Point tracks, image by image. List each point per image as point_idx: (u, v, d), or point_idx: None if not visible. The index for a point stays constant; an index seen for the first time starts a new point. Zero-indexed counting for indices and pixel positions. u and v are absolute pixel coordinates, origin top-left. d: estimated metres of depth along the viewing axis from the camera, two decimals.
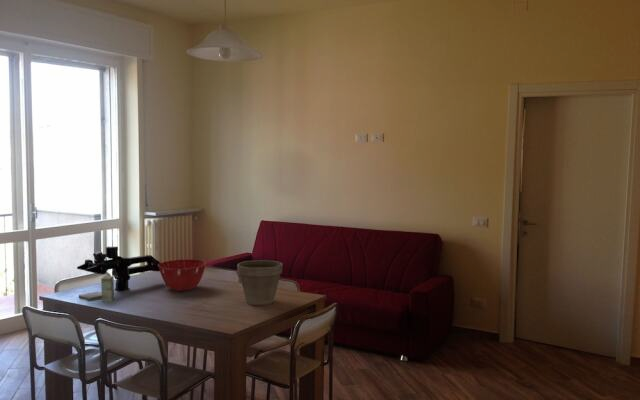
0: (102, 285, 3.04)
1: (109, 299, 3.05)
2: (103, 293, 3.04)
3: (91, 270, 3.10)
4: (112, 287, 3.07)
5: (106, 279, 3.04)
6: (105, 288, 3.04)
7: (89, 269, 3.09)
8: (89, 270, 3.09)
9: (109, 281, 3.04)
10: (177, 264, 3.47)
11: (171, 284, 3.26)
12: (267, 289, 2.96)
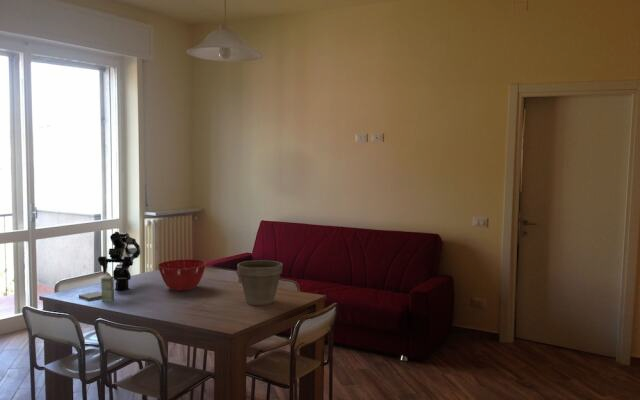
0: (102, 285, 3.04)
1: (109, 299, 3.05)
2: (103, 293, 3.04)
3: (123, 269, 3.16)
4: (112, 287, 3.07)
5: (106, 279, 3.04)
6: (105, 288, 3.04)
7: (122, 270, 3.15)
8: (122, 270, 3.16)
9: (109, 281, 3.04)
10: (177, 264, 3.47)
11: (171, 284, 3.26)
12: (267, 289, 2.96)
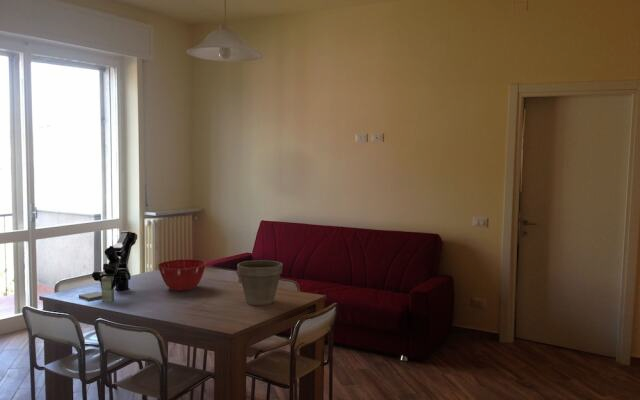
0: (102, 285, 3.04)
1: (109, 299, 3.05)
2: (103, 293, 3.04)
3: (115, 285, 3.08)
4: None
5: (106, 279, 3.04)
6: (105, 288, 3.04)
7: (113, 286, 3.06)
8: (114, 286, 3.07)
9: (109, 281, 3.04)
10: (177, 264, 3.47)
11: (171, 284, 3.26)
12: (267, 289, 2.96)
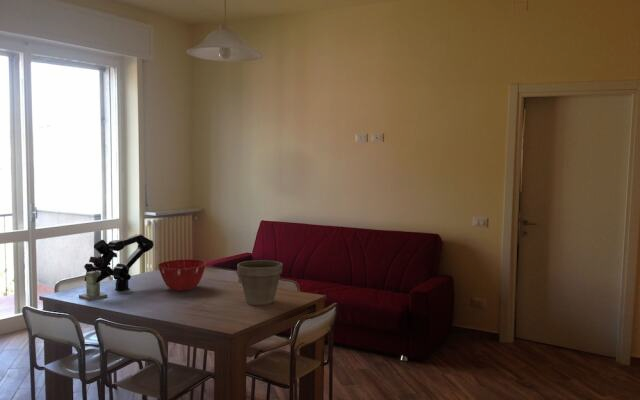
0: (86, 279, 3.11)
1: (91, 294, 3.10)
2: (87, 287, 3.11)
3: (101, 279, 3.10)
4: None
5: (89, 274, 3.09)
6: (88, 282, 3.10)
7: (99, 279, 3.10)
8: (99, 280, 3.10)
9: (91, 276, 3.09)
10: (177, 264, 3.47)
11: (171, 284, 3.26)
12: (267, 289, 2.96)
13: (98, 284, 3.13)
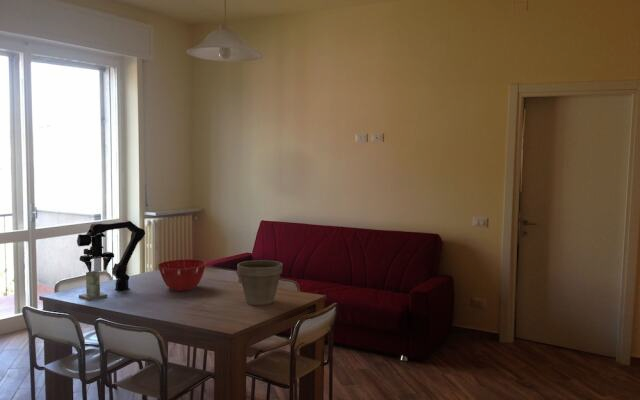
0: (86, 279, 3.11)
1: (91, 294, 3.10)
2: (87, 287, 3.11)
3: (88, 268, 3.17)
4: (96, 282, 3.11)
5: (89, 274, 3.09)
6: (88, 282, 3.10)
7: (88, 269, 3.17)
8: (89, 269, 3.17)
9: (91, 276, 3.09)
10: (177, 264, 3.47)
11: (171, 284, 3.26)
12: (267, 289, 2.96)
13: (98, 284, 3.13)
